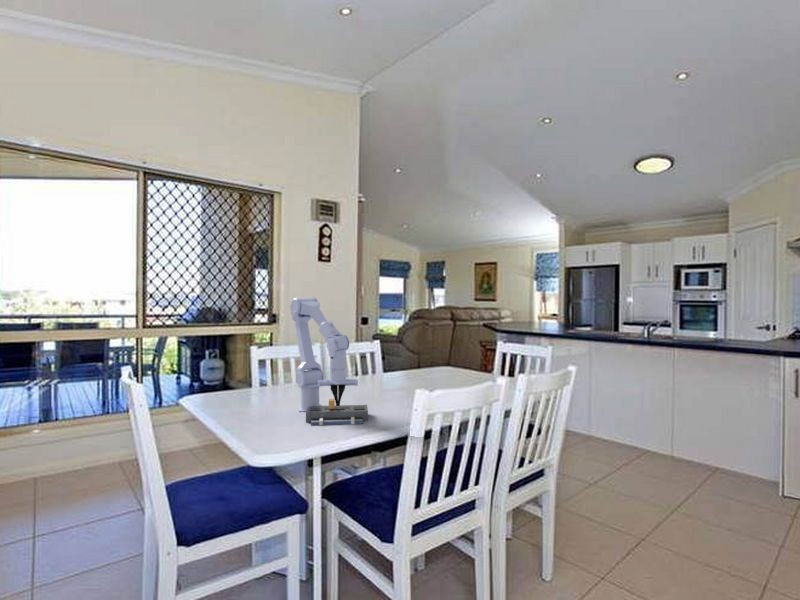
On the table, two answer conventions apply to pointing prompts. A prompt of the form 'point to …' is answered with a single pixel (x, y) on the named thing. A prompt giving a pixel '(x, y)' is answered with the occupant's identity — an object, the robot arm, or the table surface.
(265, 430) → the table surface
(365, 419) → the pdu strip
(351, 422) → the cords
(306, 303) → the robot arm
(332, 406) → the lever
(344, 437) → the table surface
